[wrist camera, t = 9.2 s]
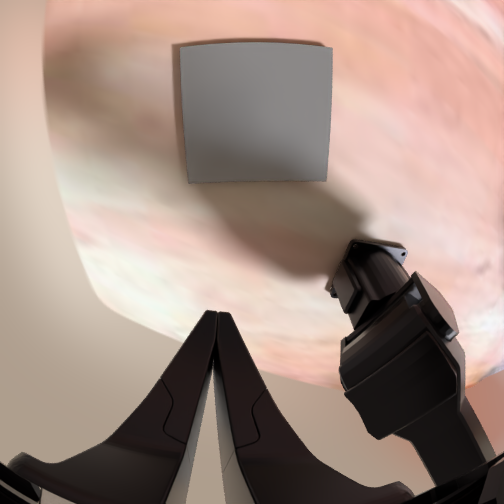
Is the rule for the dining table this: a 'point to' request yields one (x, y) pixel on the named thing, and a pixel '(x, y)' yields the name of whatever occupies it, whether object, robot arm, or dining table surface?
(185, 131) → the slate coaster
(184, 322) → the dining table surface
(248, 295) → the dining table surface
